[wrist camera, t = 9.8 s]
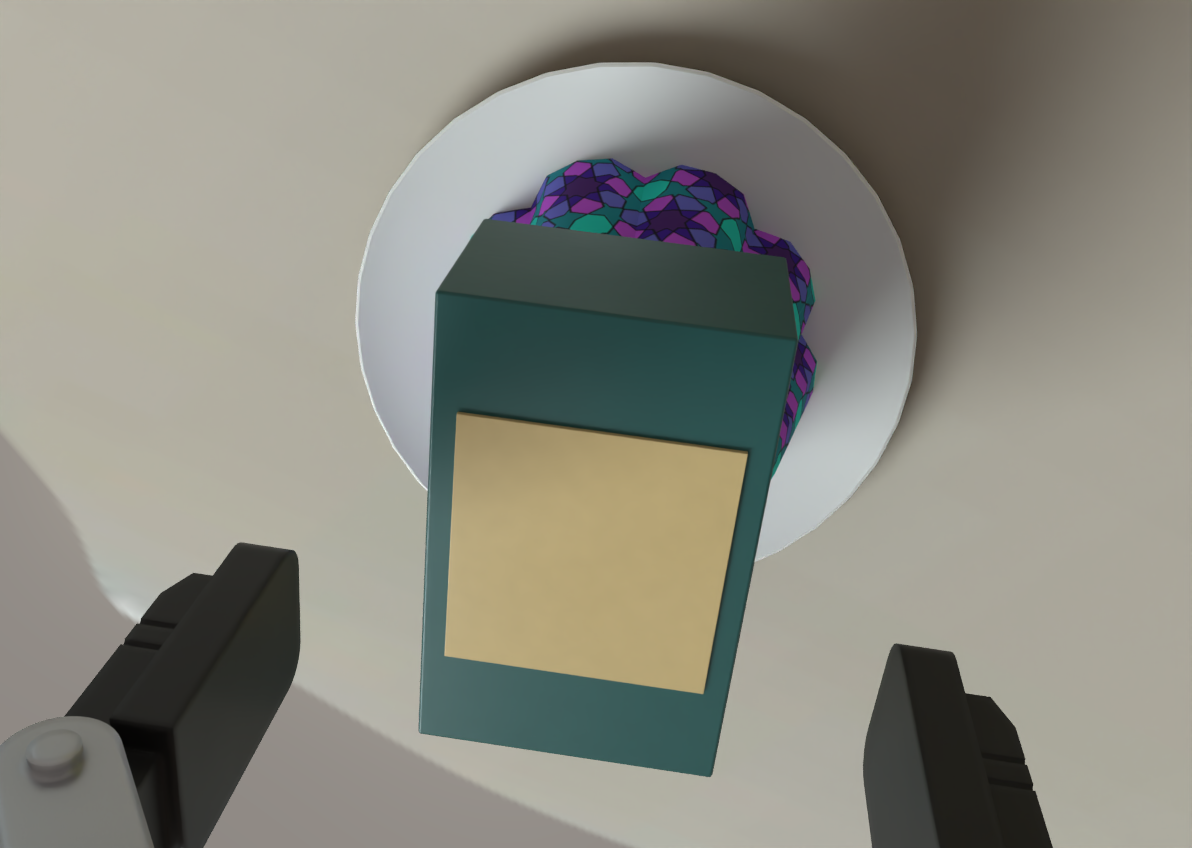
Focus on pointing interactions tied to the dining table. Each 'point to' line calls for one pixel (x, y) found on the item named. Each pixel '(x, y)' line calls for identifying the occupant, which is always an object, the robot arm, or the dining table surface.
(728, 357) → the packet
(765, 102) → the pudding
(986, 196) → the dining table surface
